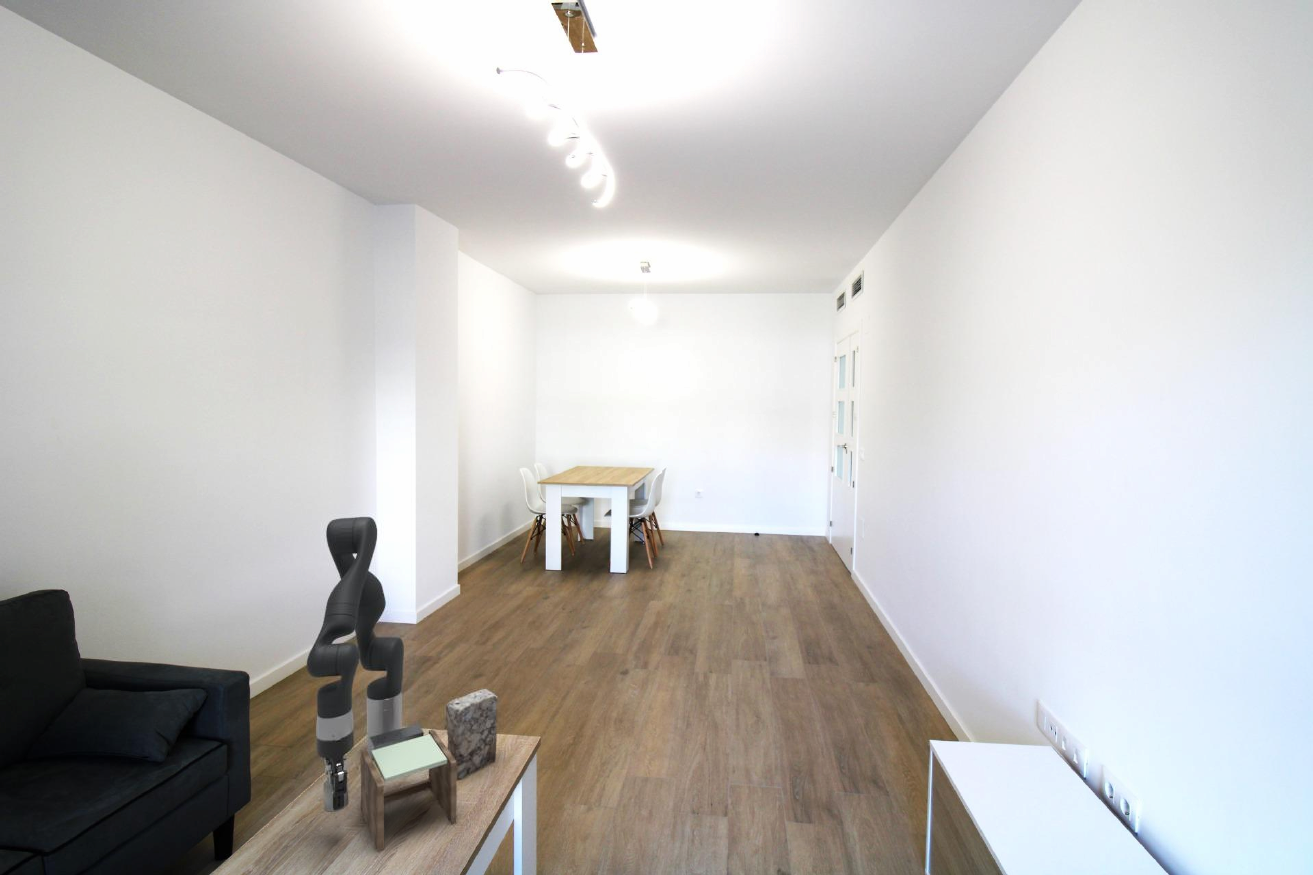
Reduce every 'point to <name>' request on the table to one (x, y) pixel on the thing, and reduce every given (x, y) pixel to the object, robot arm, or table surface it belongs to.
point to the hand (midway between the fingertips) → (336, 801)
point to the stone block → (472, 731)
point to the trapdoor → (405, 752)
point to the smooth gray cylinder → (329, 797)
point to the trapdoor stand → (406, 791)
